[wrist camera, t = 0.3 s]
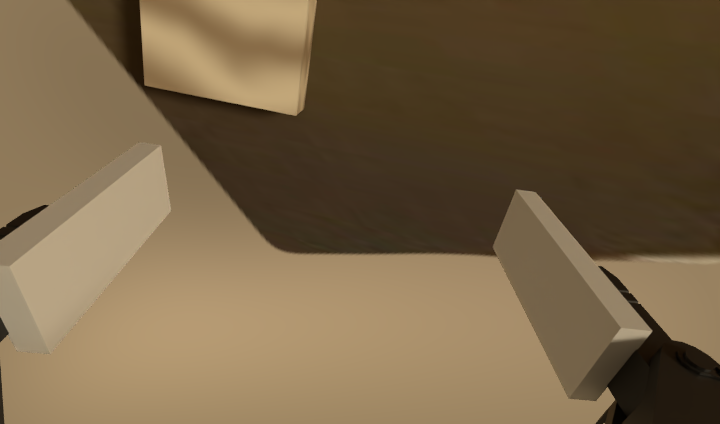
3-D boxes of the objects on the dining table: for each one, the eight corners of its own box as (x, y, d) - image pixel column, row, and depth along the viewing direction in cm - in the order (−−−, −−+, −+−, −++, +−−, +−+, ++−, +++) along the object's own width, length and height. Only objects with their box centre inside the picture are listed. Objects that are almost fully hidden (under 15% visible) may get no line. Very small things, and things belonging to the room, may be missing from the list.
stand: (162, -61, 32) (135, -74, 29) (320, -28, 33) (312, -37, 29) (167, 81, 37) (144, 85, 34) (303, 108, 38) (295, 115, 34)
